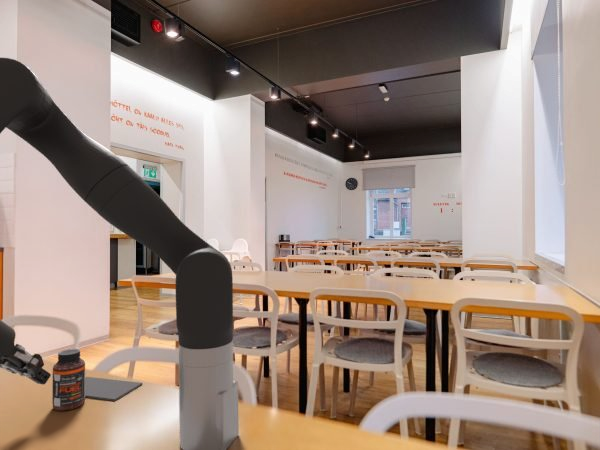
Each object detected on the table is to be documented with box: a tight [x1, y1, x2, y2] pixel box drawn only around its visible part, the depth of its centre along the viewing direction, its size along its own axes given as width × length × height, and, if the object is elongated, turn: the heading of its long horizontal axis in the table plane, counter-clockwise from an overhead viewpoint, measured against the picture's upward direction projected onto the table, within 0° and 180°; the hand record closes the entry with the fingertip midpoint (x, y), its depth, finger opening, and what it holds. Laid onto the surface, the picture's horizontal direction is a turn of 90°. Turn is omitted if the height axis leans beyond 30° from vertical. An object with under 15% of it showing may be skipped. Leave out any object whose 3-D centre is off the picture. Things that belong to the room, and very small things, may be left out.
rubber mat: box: [85, 376, 143, 402], centre depth 90 cm, size 16×9×1 cm, turn 75°
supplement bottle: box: [51, 348, 86, 412], centre depth 82 cm, size 6×6×11 cm
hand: (45, 379), depth 77 cm, fingers closed
